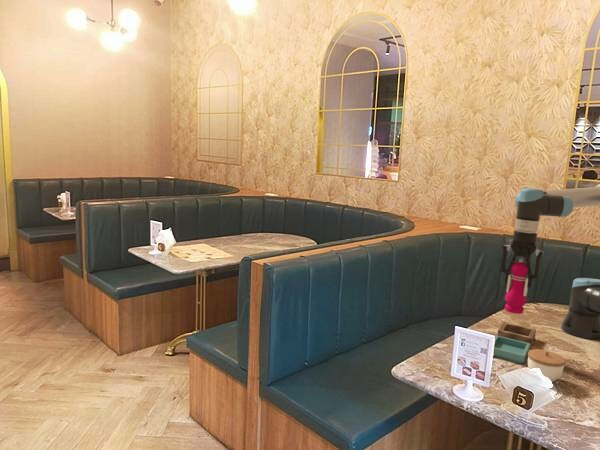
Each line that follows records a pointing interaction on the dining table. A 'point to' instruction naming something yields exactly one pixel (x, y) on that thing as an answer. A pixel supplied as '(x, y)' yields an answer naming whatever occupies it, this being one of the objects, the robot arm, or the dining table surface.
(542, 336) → the dining table surface
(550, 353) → the lidded jar
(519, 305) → the pepper mill
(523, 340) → the walnut holder
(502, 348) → the teal tray
